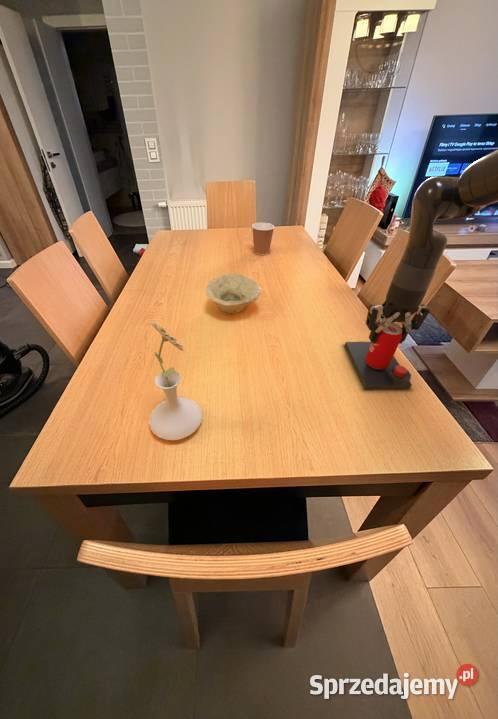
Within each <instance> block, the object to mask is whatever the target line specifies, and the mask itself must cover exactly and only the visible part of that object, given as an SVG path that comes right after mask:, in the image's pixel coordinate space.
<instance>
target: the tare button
mask: <svg viewBox="0 0 498 719" xmlns="http://www.w3.org/2000/svg"><path fill="white" fill-rule="evenodd" d="M407 370H408V369H407V368H406V367H405V366H402V365H400V366H396V367H395V369H394V371H393V374H394V375H395V376H397V377H400V378H403V377H404V376H405V374H406V372H407Z"/></svg>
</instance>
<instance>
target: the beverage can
mask: <svg viewBox="0 0 498 719" xmlns="http://www.w3.org/2000/svg"><path fill="white" fill-rule="evenodd" d="M401 338H402V326H401V325H399V324H398V323H396V322H393V323H390V324H389V325H388V326H387V327H384V328H383V329H382V330H381V331H380V334H379V337H378V339H377V342H376V344H372V342H371V341H370V342H371V345H370V348H369V350H368V353H367V356H366V362H367V364H368V365H369V366H371V367H372V368H375V369H380V370H381V369H386V368H388V367H389V365H390V362H391V360H392V358H393V356H394V357H395V354H396V351H397V349H398V348H399V345H400V344H399V343H400V340H401Z"/></svg>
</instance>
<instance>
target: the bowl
mask: <svg viewBox="0 0 498 719" xmlns="http://www.w3.org/2000/svg"><path fill="white" fill-rule="evenodd" d="M205 295H206V297H207V298H208V299H209V300H210V301H212V302H213V303H214V304H216V305H217V306H218V307H219V308H220V310H222V311H223V312H225V313H227V314H237V313H241V312H242V311H243V310H244V309H246V308H247V307H248V306H249V305H250V304H251V303H252V302H254V301H257V300H258V299H259V297H260V295H261V287H260V285H259V284H258V282H256V280H254V279H252V278H251V277H249V276H247V275H244V274H237V273H224V274H222V275H221V276H218V277H215V278H213V279H211V280H210V281H209V282H208V283H207V285H206V289H205Z"/></svg>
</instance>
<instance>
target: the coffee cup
mask: <svg viewBox="0 0 498 719" xmlns="http://www.w3.org/2000/svg"><path fill="white" fill-rule="evenodd" d="M251 227H252V240H253V252H254V253H255V254H256V255H261V256H264V255H267V254H269V253H270V251H271V250H270V249H271V244H272V241H273V240H272V239H273V234H274V229H275V225H274V224H272V223H270V222H255V223H252V225H251Z"/></svg>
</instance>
